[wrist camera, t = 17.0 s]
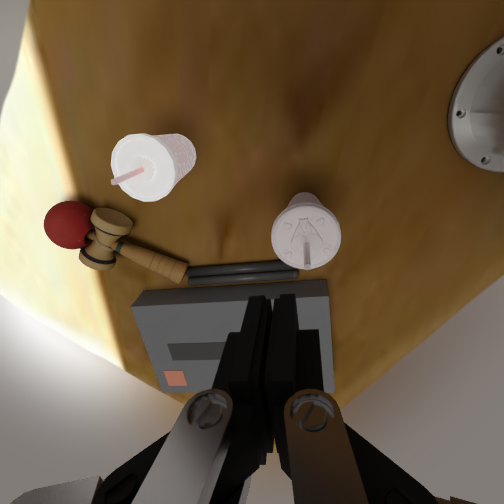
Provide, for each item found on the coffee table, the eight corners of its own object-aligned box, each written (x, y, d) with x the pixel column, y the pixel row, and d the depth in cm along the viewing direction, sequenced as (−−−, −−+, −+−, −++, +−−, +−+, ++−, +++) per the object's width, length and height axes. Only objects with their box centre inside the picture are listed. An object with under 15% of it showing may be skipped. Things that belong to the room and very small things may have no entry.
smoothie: (281, 235, 39) (272, 298, 27) (273, 184, 37) (259, 228, 24) (334, 229, 38) (351, 291, 25) (329, 176, 35) (346, 217, 23)
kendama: (200, 237, 42) (64, 178, 39) (188, 268, 38) (31, 203, 34) (182, 273, 47) (59, 224, 43) (170, 305, 42) (30, 252, 38)
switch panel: (324, 255, 40) (327, 271, 36) (332, 370, 48) (334, 393, 44) (136, 270, 44) (122, 285, 41) (171, 372, 52) (162, 392, 49)
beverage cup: (190, 189, 38) (137, 232, 26) (144, 164, 38) (68, 195, 25) (211, 143, 36) (163, 167, 23) (162, 115, 35) (86, 123, 22)
